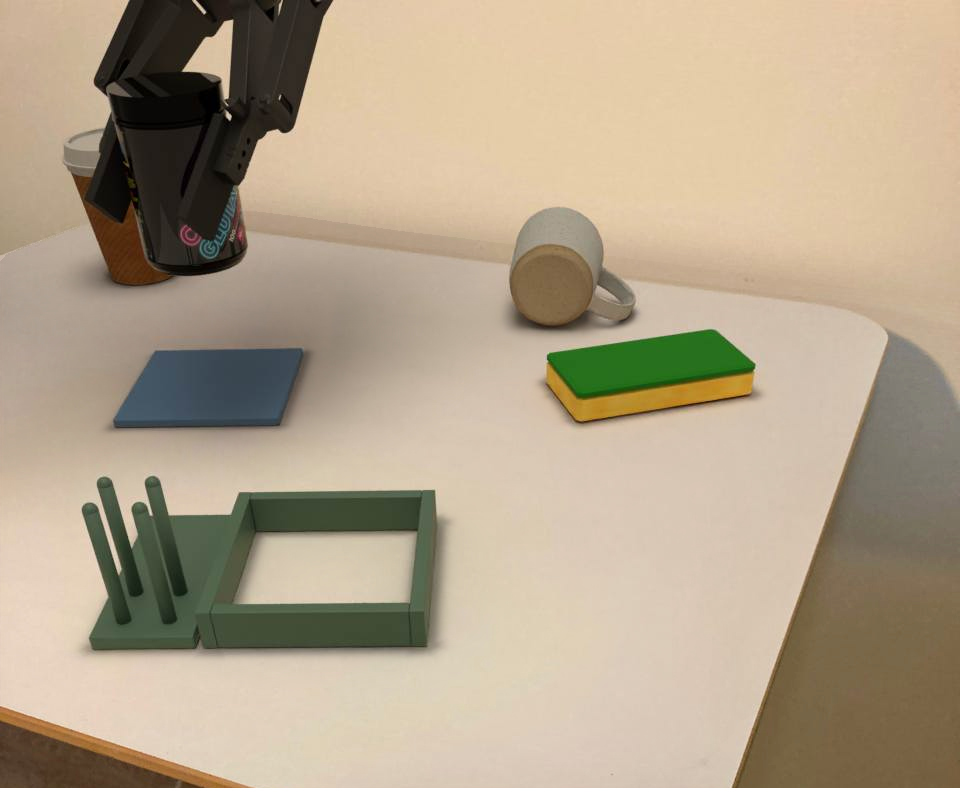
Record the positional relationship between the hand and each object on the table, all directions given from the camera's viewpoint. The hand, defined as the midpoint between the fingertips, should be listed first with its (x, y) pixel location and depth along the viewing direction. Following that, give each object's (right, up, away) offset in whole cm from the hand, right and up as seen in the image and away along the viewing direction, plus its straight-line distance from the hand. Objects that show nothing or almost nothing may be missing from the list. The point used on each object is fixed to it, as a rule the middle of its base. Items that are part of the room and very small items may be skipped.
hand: (148, 219), depth 63 cm
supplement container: (+2, -1, +5) cm, 5 cm away
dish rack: (+8, -22, -3) cm, 24 cm away
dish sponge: (+33, -7, +15) cm, 37 cm away
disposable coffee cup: (-12, +9, +36) cm, 39 cm away
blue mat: (0, -6, +16) cm, 17 cm away
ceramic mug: (+28, +3, +26) cm, 39 cm away
